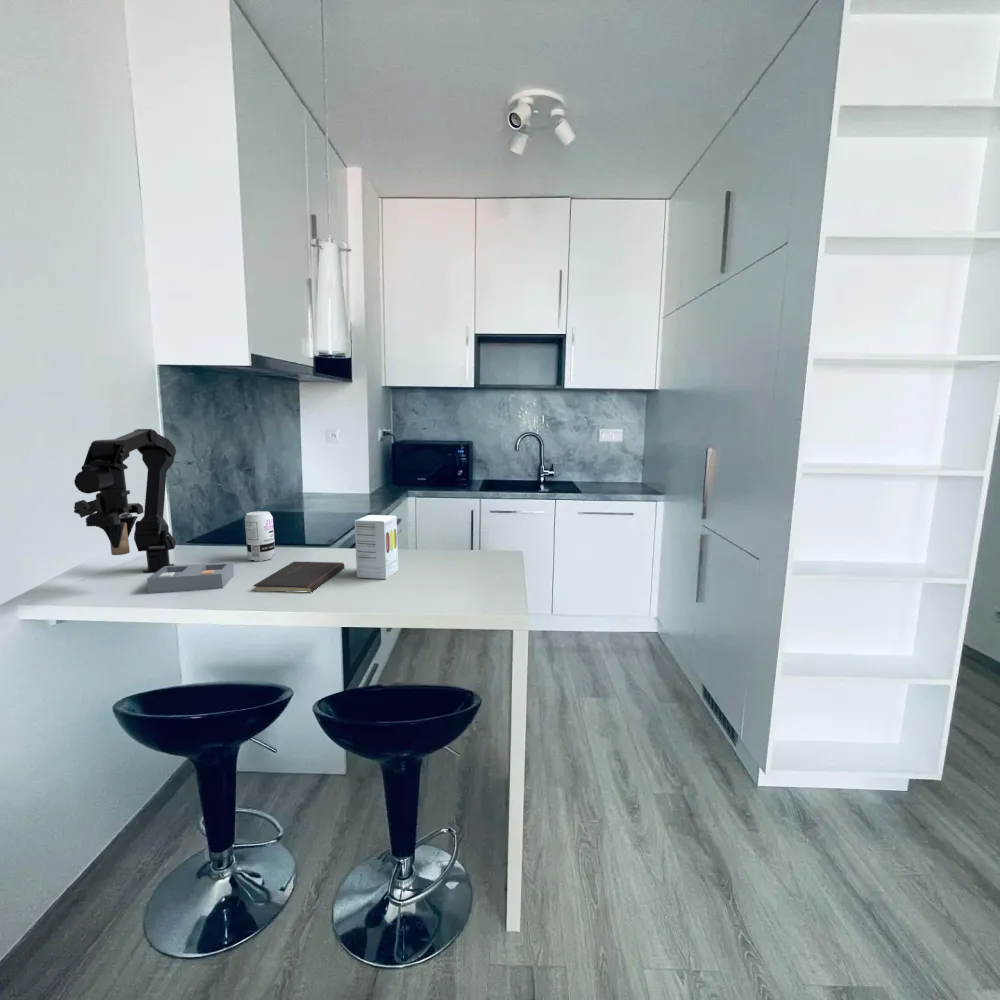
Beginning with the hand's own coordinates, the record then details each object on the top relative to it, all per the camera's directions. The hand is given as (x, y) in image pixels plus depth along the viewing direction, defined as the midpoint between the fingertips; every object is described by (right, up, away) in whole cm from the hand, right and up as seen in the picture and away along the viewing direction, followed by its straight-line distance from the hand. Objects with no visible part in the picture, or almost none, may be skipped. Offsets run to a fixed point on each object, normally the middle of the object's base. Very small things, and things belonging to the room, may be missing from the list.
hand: (119, 545), depth 146 cm
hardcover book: (+45, -11, +10) cm, 48 cm away
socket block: (+17, -11, +5) cm, 21 cm away
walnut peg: (0, -2, 0) cm, 2 cm away
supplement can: (+24, -7, +31) cm, 40 cm away
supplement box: (+66, -10, +14) cm, 68 cm away
